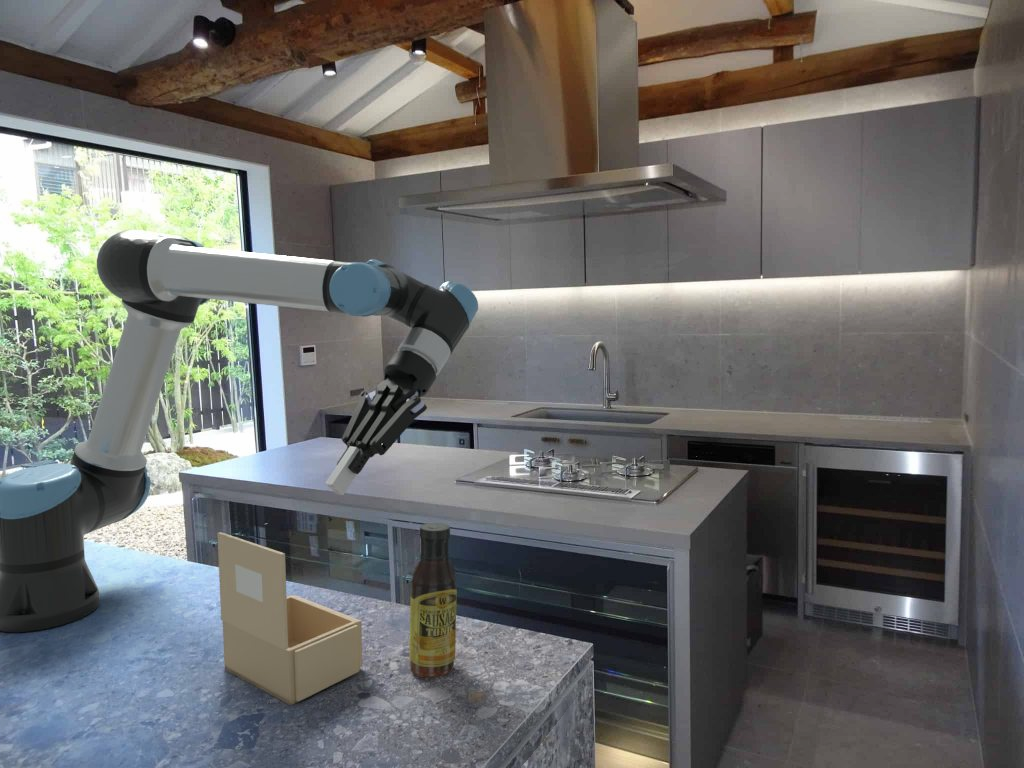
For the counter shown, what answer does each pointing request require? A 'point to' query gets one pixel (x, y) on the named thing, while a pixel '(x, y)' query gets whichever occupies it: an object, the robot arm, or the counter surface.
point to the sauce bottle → (433, 605)
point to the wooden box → (297, 652)
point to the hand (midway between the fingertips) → (334, 489)
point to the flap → (253, 589)
